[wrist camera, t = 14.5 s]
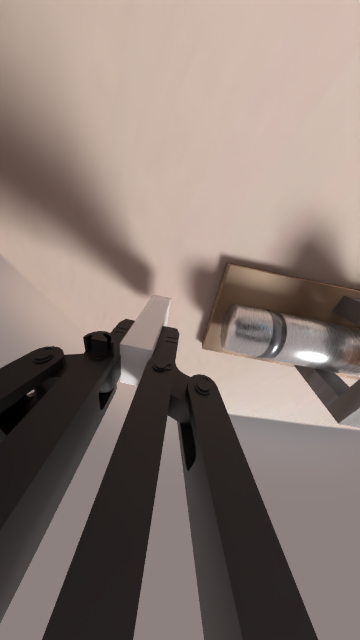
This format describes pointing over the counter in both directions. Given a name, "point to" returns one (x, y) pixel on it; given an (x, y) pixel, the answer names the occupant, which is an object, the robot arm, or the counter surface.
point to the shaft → (291, 339)
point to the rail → (302, 301)
